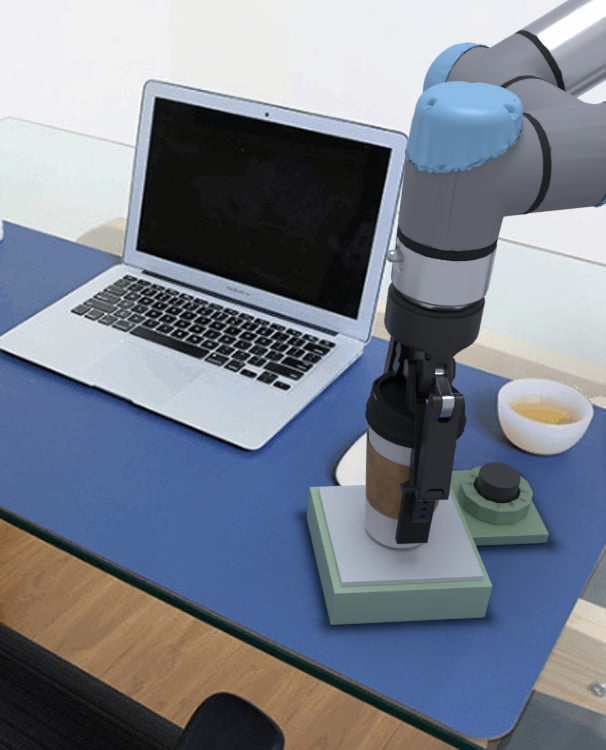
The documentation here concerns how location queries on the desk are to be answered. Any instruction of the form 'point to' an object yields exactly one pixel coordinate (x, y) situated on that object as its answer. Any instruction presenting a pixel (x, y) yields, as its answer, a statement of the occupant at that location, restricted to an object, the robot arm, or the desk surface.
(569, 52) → the robot arm
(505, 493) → the tare button
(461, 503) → the panel
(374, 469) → the coffee cup
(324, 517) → the scale
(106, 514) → the desk surface
